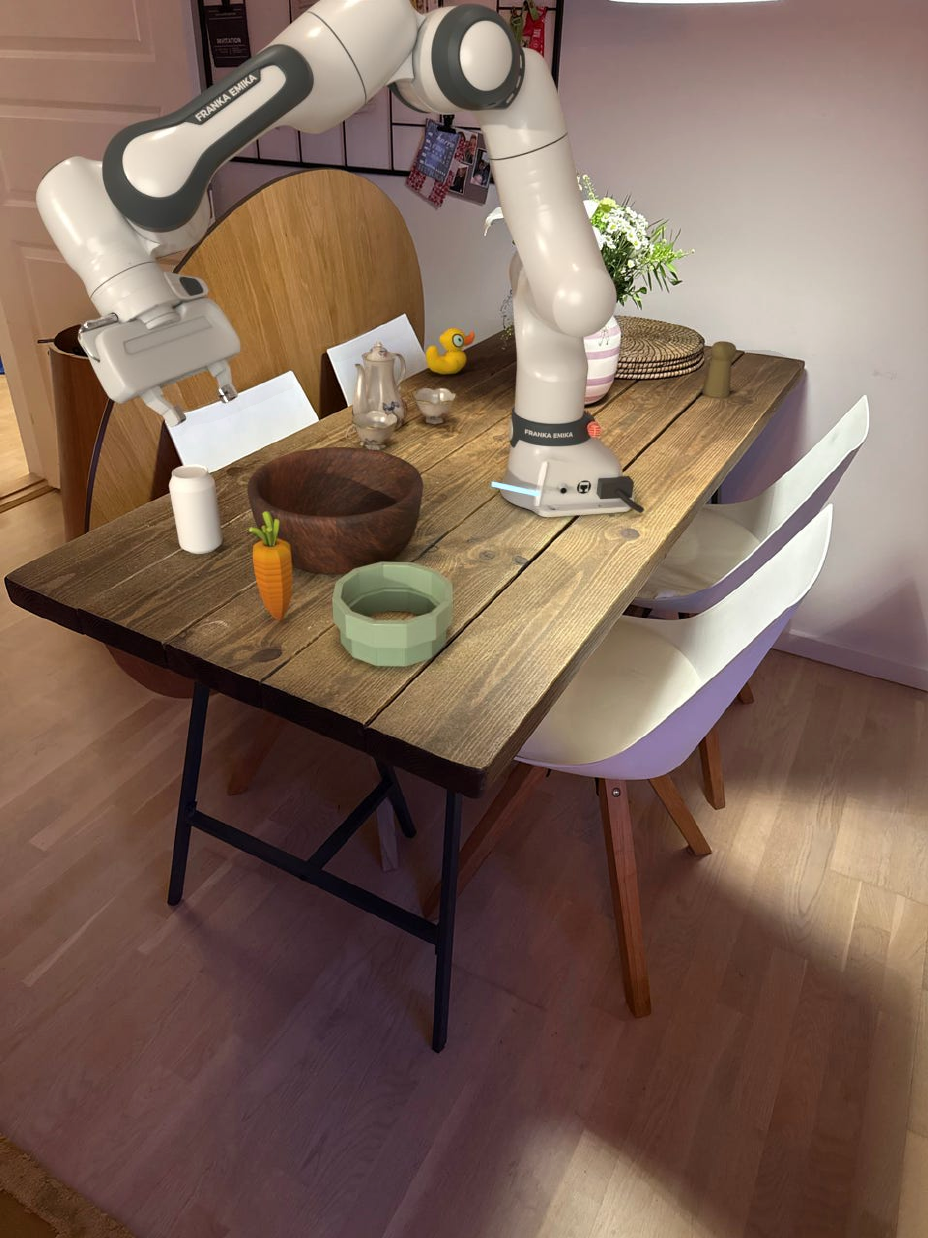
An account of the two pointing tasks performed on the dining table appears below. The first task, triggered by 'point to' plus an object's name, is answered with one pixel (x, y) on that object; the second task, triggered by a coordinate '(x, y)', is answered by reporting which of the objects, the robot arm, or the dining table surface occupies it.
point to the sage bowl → (393, 592)
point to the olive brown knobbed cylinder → (719, 370)
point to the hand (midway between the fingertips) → (206, 411)
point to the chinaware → (389, 399)
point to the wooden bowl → (338, 506)
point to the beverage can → (195, 509)
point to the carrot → (273, 568)
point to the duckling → (449, 352)
